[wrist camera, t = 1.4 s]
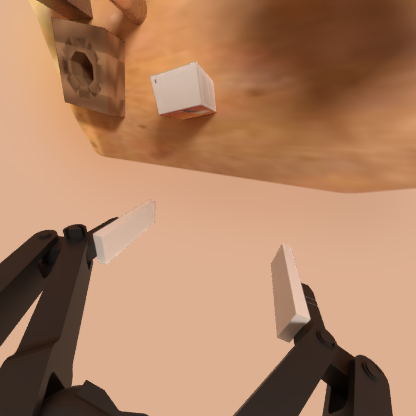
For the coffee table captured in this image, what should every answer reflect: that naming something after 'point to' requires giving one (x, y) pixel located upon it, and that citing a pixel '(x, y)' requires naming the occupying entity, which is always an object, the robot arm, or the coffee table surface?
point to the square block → (70, 8)
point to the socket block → (86, 59)
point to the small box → (184, 92)
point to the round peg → (132, 9)
